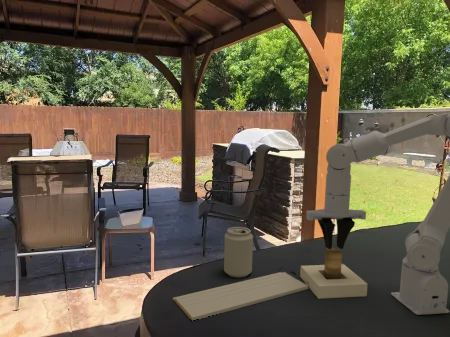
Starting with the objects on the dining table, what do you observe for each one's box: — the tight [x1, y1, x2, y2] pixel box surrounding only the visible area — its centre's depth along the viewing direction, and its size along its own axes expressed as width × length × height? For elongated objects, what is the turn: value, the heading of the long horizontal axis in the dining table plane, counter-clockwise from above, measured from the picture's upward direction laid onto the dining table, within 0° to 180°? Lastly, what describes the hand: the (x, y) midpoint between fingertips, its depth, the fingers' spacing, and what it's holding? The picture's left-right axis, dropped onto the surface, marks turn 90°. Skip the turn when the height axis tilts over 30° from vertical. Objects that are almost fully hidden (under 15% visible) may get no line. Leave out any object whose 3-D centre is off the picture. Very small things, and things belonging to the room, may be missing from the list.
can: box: [223, 226, 254, 279], centre depth 96 cm, size 8×8×12 cm
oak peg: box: [324, 247, 343, 280], centre depth 90 cm, size 4×4×9 cm
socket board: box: [299, 263, 369, 300], centre depth 91 cm, size 12×12×3 cm
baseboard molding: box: [172, 266, 309, 322], centre depth 86 cm, size 31×3×12 cm
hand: (334, 247), depth 89 cm, fingers open, 2 cm apart
